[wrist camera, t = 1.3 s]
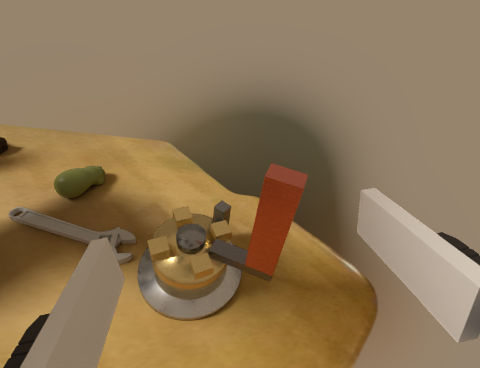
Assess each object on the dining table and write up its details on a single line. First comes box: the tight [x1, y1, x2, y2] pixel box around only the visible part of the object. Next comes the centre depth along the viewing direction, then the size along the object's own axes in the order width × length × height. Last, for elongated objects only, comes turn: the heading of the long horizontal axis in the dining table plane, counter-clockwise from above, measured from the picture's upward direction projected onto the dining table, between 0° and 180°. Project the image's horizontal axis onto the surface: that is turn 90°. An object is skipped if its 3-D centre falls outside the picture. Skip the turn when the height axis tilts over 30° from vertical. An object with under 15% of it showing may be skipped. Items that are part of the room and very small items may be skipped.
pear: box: [54, 166, 105, 198], centre depth 56 cm, size 6×5×10 cm
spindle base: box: [138, 201, 241, 321], centre depth 43 cm, size 17×17×10 cm
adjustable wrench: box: [9, 207, 136, 264], centre depth 49 cm, size 25×6×2 cm, turn 70°
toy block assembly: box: [147, 164, 308, 300], centre depth 37 cm, size 19×12×24 cm, turn 69°
